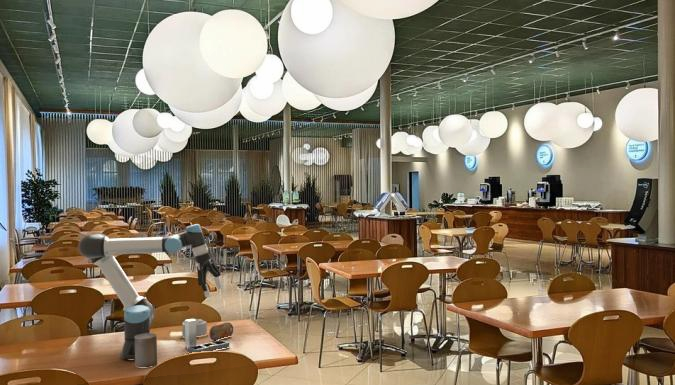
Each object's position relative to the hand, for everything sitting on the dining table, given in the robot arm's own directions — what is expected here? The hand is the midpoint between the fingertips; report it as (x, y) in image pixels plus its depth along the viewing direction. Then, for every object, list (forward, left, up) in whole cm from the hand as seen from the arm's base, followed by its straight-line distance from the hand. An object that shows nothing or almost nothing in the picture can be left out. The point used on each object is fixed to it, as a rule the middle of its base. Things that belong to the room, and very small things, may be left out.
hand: (214, 292), depth 302 cm
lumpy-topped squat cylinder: (+3, +24, -27) cm, 37 cm away
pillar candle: (-41, -8, -27) cm, 50 cm away
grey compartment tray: (-8, -8, -27) cm, 29 cm away
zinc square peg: (-11, +4, -27) cm, 29 cm away
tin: (+9, +7, -27) cm, 29 cm away
